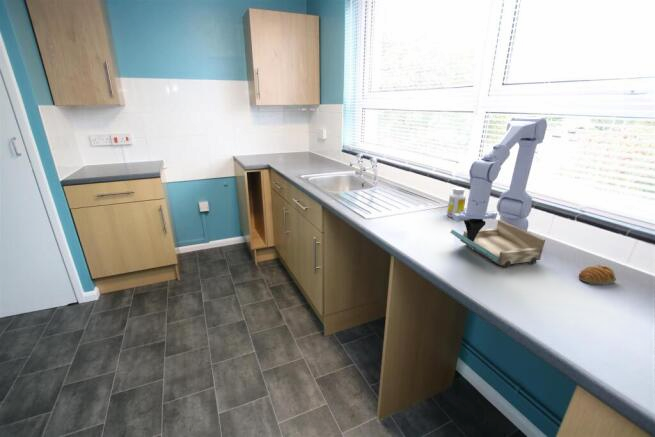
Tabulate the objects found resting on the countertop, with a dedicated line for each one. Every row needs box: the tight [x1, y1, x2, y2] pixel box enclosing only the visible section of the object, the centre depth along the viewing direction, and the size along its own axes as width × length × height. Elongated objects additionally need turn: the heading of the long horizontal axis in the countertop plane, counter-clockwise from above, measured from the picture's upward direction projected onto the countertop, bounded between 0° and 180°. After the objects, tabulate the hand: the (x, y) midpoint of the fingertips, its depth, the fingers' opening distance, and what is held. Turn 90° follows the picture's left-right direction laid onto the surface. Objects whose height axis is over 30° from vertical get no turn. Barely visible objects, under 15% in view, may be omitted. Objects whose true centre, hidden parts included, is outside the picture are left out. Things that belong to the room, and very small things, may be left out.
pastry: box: [578, 264, 617, 286], centre depth 90 cm, size 9×7×4 cm
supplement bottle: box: [446, 186, 467, 219], centre depth 140 cm, size 7×7×13 cm
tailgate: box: [450, 229, 499, 263], centre depth 102 cm, size 2×17×6 cm
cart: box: [462, 219, 546, 269], centre depth 104 cm, size 15×18×8 cm
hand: (470, 240), depth 101 cm, fingers closed, pressing on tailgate
